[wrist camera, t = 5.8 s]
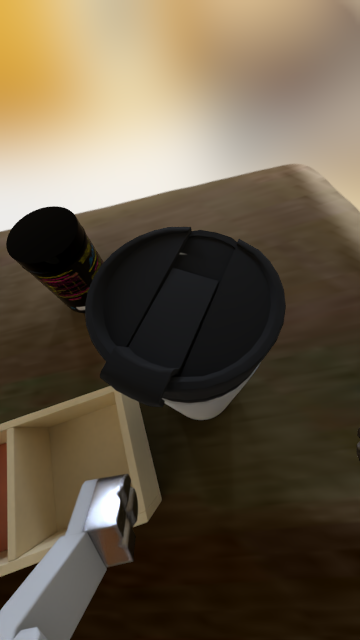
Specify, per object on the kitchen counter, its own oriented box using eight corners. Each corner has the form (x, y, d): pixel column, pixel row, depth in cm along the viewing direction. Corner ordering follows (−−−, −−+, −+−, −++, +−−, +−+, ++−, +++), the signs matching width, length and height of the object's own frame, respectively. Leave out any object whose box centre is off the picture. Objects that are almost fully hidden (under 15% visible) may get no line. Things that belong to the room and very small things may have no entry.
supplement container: (110, 263, 33) (71, 197, 24) (123, 304, 30) (84, 247, 21) (63, 281, 33) (4, 220, 23) (71, 323, 30) (7, 274, 20)
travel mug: (159, 407, 25) (25, 349, 7) (184, 349, 27) (136, 186, 9) (217, 435, 23) (252, 456, 5) (239, 371, 25) (317, 226, 7)
